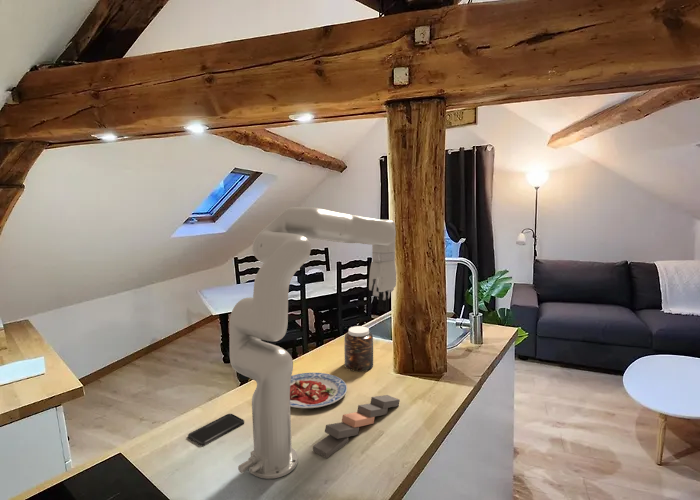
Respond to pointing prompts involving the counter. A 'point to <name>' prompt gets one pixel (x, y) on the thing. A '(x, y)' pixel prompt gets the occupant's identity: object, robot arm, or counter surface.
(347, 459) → the counter surface
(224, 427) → the phone
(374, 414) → the domino
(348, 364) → the jar
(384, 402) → the domino
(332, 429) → the domino
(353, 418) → the terracotta domino
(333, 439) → the domino
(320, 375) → the ceramic plate
